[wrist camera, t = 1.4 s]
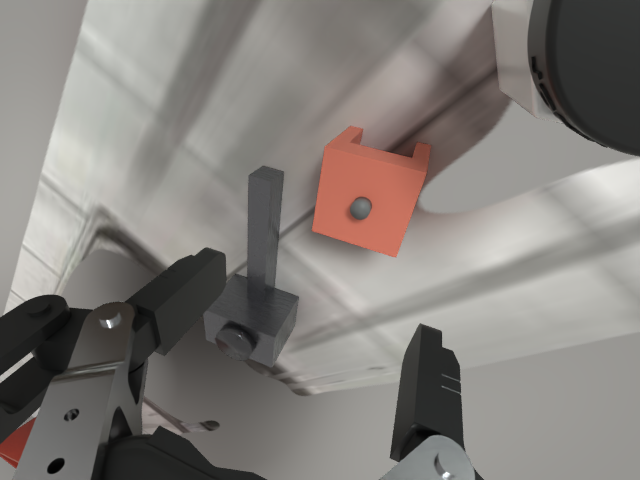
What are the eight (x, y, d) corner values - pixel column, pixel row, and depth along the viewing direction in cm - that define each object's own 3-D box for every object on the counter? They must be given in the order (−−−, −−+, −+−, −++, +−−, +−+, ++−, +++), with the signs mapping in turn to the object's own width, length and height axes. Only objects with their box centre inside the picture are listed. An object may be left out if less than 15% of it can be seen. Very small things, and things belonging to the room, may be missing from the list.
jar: (460, 85, 19) (475, 123, 10) (531, -101, 15) (693, -384, 5) (619, 119, 18) (827, 204, 8) (755, -80, 13) (1643, -447, 3)
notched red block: (350, 125, 23) (320, 150, 17) (431, 145, 22) (426, 177, 16) (336, 197, 26) (307, 236, 21) (405, 217, 25) (394, 264, 20)
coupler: (233, 157, 28) (179, 185, 22) (316, 180, 26) (280, 217, 20) (236, 303, 38) (200, 347, 33) (294, 326, 37) (267, 376, 31)
